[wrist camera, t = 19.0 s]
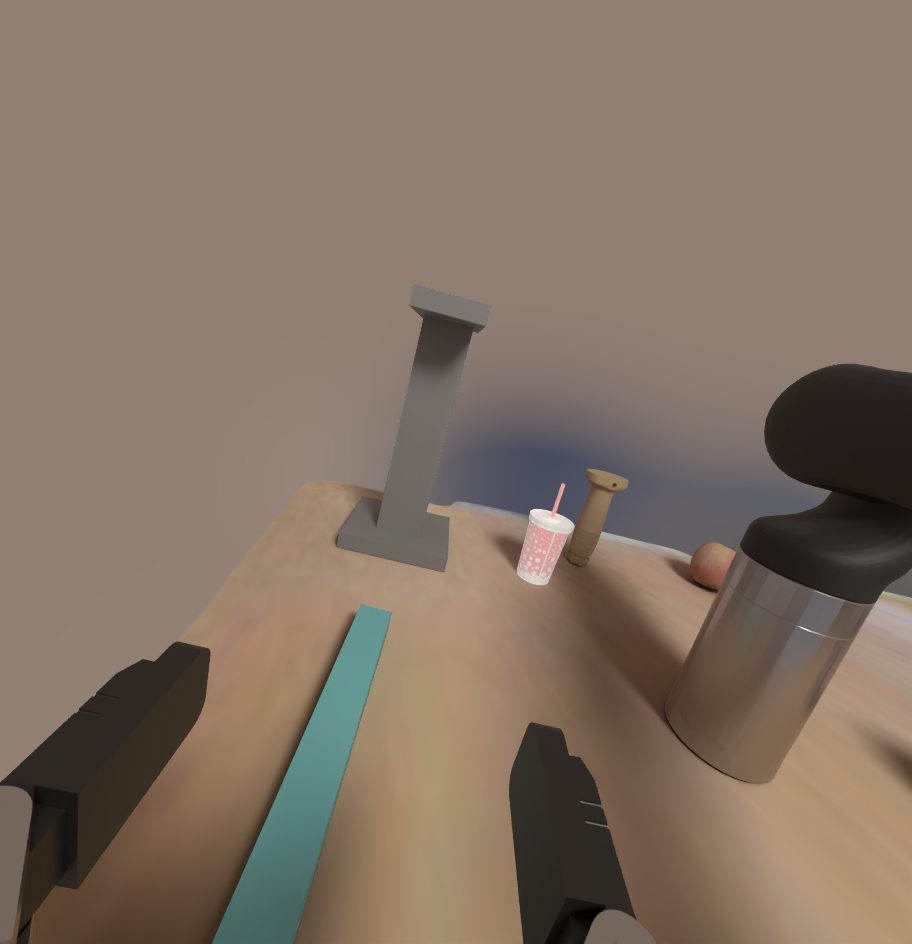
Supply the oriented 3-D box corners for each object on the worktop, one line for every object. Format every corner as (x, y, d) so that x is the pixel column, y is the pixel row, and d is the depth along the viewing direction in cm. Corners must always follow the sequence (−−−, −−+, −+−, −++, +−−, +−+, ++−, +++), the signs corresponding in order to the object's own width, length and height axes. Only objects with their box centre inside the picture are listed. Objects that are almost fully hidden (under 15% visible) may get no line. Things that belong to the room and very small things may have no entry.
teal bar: (354, 631, 42) (360, 604, 41) (385, 639, 42) (392, 612, 41) (177, 1053, 16) (184, 1004, 16) (255, 1069, 17) (266, 1022, 16)
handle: (600, 572, 69) (634, 484, 65) (565, 567, 67) (597, 476, 64) (586, 557, 74) (617, 474, 70) (552, 552, 72) (582, 466, 68)
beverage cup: (548, 570, 65) (578, 482, 61) (558, 592, 59) (592, 496, 55) (508, 561, 64) (537, 472, 61) (514, 582, 58) (546, 485, 55)
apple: (741, 606, 70) (763, 563, 68) (695, 594, 71) (715, 550, 68) (717, 582, 78) (735, 542, 76) (675, 571, 78) (693, 531, 76)
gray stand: (359, 508, 69) (404, 297, 60) (446, 529, 70) (502, 324, 61) (327, 561, 51) (383, 275, 43) (442, 588, 52) (520, 313, 44)
